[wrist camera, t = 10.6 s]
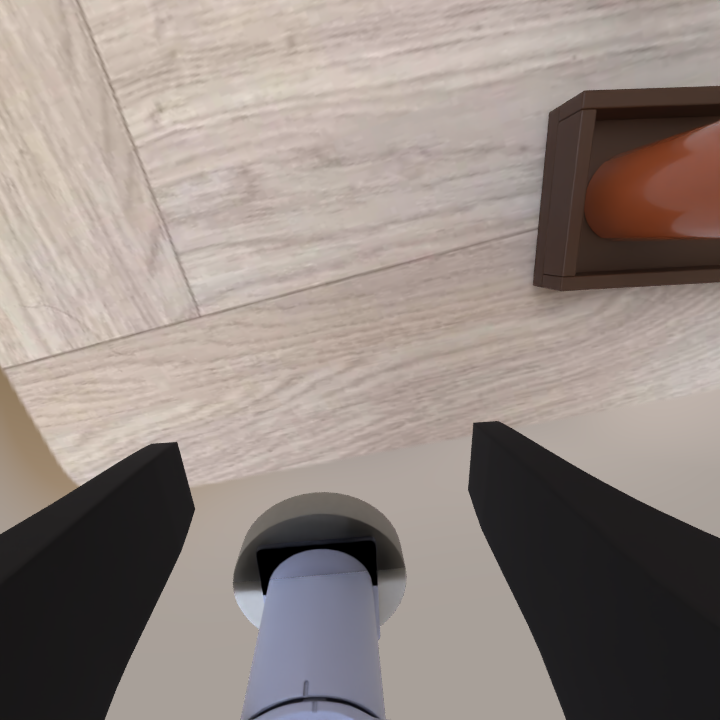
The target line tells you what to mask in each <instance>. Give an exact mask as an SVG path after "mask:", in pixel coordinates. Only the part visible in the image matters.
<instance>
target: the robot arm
mask: <svg viewBox="0 0 720 720" xmlns="http://www.w3.org/2000/svg"><path fill="white" fill-rule="evenodd" d="M468 491H469V494H470V497H471V500H472V503H473V506H474V509H475V512H476V515H477V517H478V520H479V523H480V526H481V529H482V531H483V533H484V535H485V537H486V539H487V541H488V544H489V546H490V548H491V550H492V552H493V554H494V556H495V558H496V560H497V562H498V564H499V566H500V568H501V570H502V573H503V575H504V577H505V579H506V581H507V583H508V585H509V587H510V589H511V591H512V593H513V595H514V597H515V599H516V601H517V603H518V605H519V607H520V609H521V612H522V614H523V615H524V618H525V620H526V622H527V624H528V626H529V628H530V630H531V632H532V635H533V637H534V639H535V642H536V644H537V646H538V648H539V651H540V653H541V655H542V658H543V661H544V663H545V666H546V668H547V671H548V674H549V676H550V678H551V681H552V684H553V686H554V689H555V692H556V694H557V697H558V699H559V702H560V705H561V707H562V709H563V712H564V715H565V718H566V720H720V538H718V537H716V536H714V535H711V534H709V533H707V532H704V531H702V530H700V529H698V528H696V527H693V526H691V525H689V524H687V523H685V522H683V521H680V520H678V519H676V518H674V517H672V516H670V515H667V514H665V513H663V512H661V511H659V510H657V509H655V508H653V507H651V506H649V505H647V504H645V503H642V502H640V501H638V500H636V499H635V498H633V497H631V496H629V495H627V494H625V493H623V492H621V491H619V490H618V489H616V488H614V487H612V486H610V485H608V484H606V483H604V482H602V481H601V480H599V479H597V478H595V477H593V476H591V475H590V474H588V473H586V472H584V471H582V470H581V469H579V468H577V467H576V466H574V465H572V464H570V463H569V462H567V461H565V460H564V459H562V458H560V457H559V456H557V455H555V454H554V453H552V452H550V451H549V450H547V449H545V448H544V447H542V446H540V445H539V444H537V443H535V442H534V441H532V440H530V439H529V438H527V437H525V436H523V435H522V434H520V433H519V432H517V431H515V430H514V429H512V428H510V427H508V426H507V425H505V424H503V423H501V422H499V421H493V422H478V423H473V436H472V448H471V461H470V474H469V485H468ZM194 511H195V507H194V503H193V499H192V496H191V492H190V488H189V484H188V481H187V477H186V473H185V469H184V466H183V462H182V458H181V455H180V451H179V447H178V443H177V442H171V443H156V444H150V445H148V446H146V447H144V448H142V449H140V450H139V451H137V452H135V453H133V454H132V455H130V456H128V457H127V458H125V459H123V460H122V461H120V462H118V463H117V464H115V465H114V466H112V467H110V468H109V469H107V470H106V471H104V472H102V473H101V474H99V475H98V476H96V477H94V478H93V479H91V480H90V481H88V482H86V483H85V484H83V485H82V486H80V487H78V488H77V489H75V490H74V491H72V492H70V493H69V494H67V495H66V496H64V497H62V498H61V499H59V500H58V501H56V502H54V503H53V504H51V505H49V506H48V507H46V508H44V509H42V510H41V511H39V512H37V513H36V514H34V515H32V516H31V517H29V518H27V519H26V520H24V521H22V522H21V523H19V524H17V525H15V526H14V527H12V528H10V529H9V530H7V531H5V532H3V533H2V534H0V720H105V717H106V715H107V712H108V709H109V707H110V704H111V702H112V699H113V696H114V694H115V691H116V688H117V686H118V684H119V682H120V680H121V677H122V675H123V673H124V670H125V668H126V666H127V664H128V661H129V659H130V657H131V655H132V653H133V651H134V649H135V647H136V645H137V643H138V640H139V638H140V636H141V634H142V632H143V630H144V628H145V626H146V624H147V622H148V620H149V618H150V616H151V614H152V611H153V609H154V607H155V605H156V603H157V601H158V599H159V597H160V595H161V592H162V591H163V589H164V587H165V585H166V582H167V580H168V578H169V576H170V574H171V572H172V570H173V568H174V565H175V563H176V561H177V559H178V557H179V555H180V552H181V550H182V547H183V544H184V542H185V539H186V536H187V533H188V530H189V527H190V523H191V521H192V517H193V514H194ZM367 549H371V550H367ZM263 558H267V559H263ZM256 559H257V565H258V571H259V577H260V582H261V588H262V594H263V600H264V609H263V614H262V618H261V623H260V628H259V633H258V638H257V643H256V647H255V653H254V657H253V662H252V667H251V671H250V677H249V681H248V686H247V691H246V695H245V701H244V705H243V711H242V715H241V719H240V720H386V719H385V708H384V698H383V688H382V678H381V668H380V657H379V647H378V640H379V639H380V618H379V595H378V571H377V547H376V540H375V538H374V537H372V536H363V537H351V538H338V539H326V540H314V541H301V542H289V543H276V544H264V545H260V546H259V547H258V548H257V551H256Z"/></svg>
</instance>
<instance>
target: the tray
mask: <svg viewBox="0 0 720 720" xmlns="http://www.w3.org/2000/svg"><path fill="white" fill-rule="evenodd" d="M718 120H720V86H705V87H675V88H646V89H617V90H588V91H583V92H581V93H580V94H578V95H577V96H575V97H574V98H572V99H570V100H569V101H567V102H566V103H564V104H562V105H561V106H559V107H558V108H556V109H554V110H553V111H551V112H550V114H549V124H548V135H547V145H546V155H545V166H544V176H543V187H542V197H541V208H540V218H539V229H538V239H537V250H536V260H535V270H534V281H533V285H534V286H538V287H544V288H548V289H553V290H558V291H571V290H589V289H607V288H625V287H643V286H661V285H678V284H696V283H714V282H720V240H663V241H610V240H606V239H603V238H601V237H599V236H598V235H597V234H595V233H594V232H593V231H592V229H591V228H590V227H589V225H588V223H587V221H586V217H585V213H584V205H585V197H586V190H587V187H588V184H589V182H590V180H591V178H592V176H593V175H594V174H595V172H596V171H597V170H598V168H599V167H600V166H601V165H602V164H603V163H604V162H605V161H607V160H608V159H610V158H611V157H613V156H614V155H616V154H619V153H621V152H624V151H627V150H630V149H633V148H636V147H639V146H642V145H645V144H648V143H651V142H654V141H657V140H660V139H663V138H666V137H669V136H672V135H675V134H679V133H682V132H685V131H688V130H691V129H694V128H697V127H700V126H703V125H706V124H709V123H712V122H715V121H718Z"/></svg>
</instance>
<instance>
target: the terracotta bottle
mask: <svg viewBox="0 0 720 720" xmlns="http://www.w3.org/2000/svg"><path fill="white" fill-rule="evenodd" d="M584 213H585V217H586V221H587V223H588V225H589V227H590V228H591V229H592V231H593V232H594V233H595V234H597V235H598V236H599V237H601V238H603V239H606V240H610V241H663V240H720V120H718V121H715V122H712V123H709V124H706V125H703V126H700V127H697V128H694V129H691V130H688V131H685V132H682V133H679V134H675V135H672V136H669V137H666V138H663V139H660V140H657V141H654V142H651V143H648V144H645V145H642V146H639V147H636V148H633V149H630V150H627V151H624V152H621V153H619V154H616V155H614V156H613V157H611V158H610V159H608V160H607V161H605V162H604V163H603V164H602V165H601V166H600V167H599V168H598V170H597V171H596V172H595V174H594V175H593V176H592V178H591V180H590V182H589V184H588V187H587V190H586V197H585V205H584Z"/></svg>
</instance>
